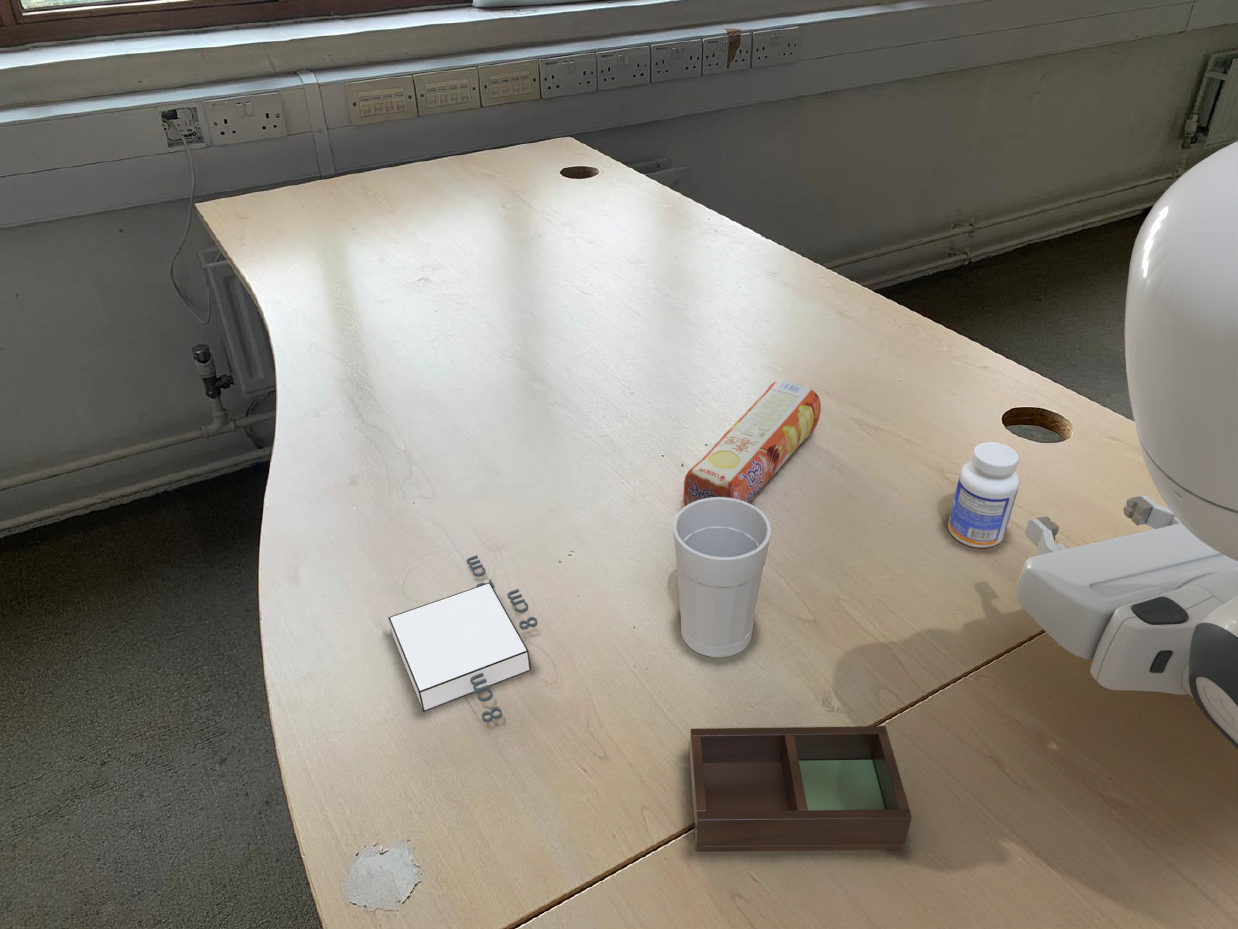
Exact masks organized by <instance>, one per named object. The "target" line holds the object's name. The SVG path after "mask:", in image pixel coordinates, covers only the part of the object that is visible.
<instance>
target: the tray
mask: <svg viewBox="0 0 1238 929" xmlns="http://www.w3.org/2000/svg"><path fill="white" fill-rule="evenodd" d="M689 735H690V736H689V771H690V787H691V802H692V816H693V831H694V841H695V842H694V843H695V844H694V845H695V852H767V851H768V852H769V851H770V852H773V851H776V852H777V851H778V852H779V851H781V852H782V851H785V852H786V851H865V850H867V851H869V850H870V851H871V850H872V851H873V850H875V851H876V850H878V851H880V850H904V847H905V844H906V840H907V837H908V834H909V830H910V828H911V823H912V819H913V816H912V813H911V810H910V805H909V802H908V799H907V796H906V792H905V788H904V786H903V782H902V779H901V775H900V771H899V768H898V765H897V761H896V758H895V755H894V754H895V753H894V751H893V748H892V744H891V740H890V737H889V733H888V729H887V727H886V725H873V726H872V725H871V726H868V725H867V726H866V725H865V726H864V725H863V726H860V725H859V726H799V727H798V726H794V727H781V726H780V727H717V728H715V727H711V728H710V727H709V728H708V727H707V728H706V727H705V728H690V734H689Z"/></svg>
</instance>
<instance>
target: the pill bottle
mask: <svg viewBox="0 0 1238 929" xmlns="http://www.w3.org/2000/svg"><path fill="white" fill-rule="evenodd" d="M1019 460H1020V458H1019V454H1018V452H1017V451H1016V450H1015V449H1013V447H1011V446H1009V445H1007V444H1005V443H1002V442H1001V443H1000V442H996V441H985V442H982V443H978V444H977V445H976V446H975V447H974V449H973V453H972V455H971V460H969V461H967V462H966V463H965V464H964V465H963V466H962V467H961V470H960V473H959V477H958V480H957V484H956V488H955V492H954V497H953V500H952V505H951V509H950V513H949V517H948V521H947V522H948V523H947V527H948V528H947V529H948V530H949V533H950V535H951V536H952V537H954V539H955V540H957V541H958V542H960V543H962V544H964V545H966V546H969V547H973V548H979V549H982V548H984V549H985V548H992V547H995V546H997V545H999V544H1000V543H1001V542H1002V541H1003V540H1004V537H1005V536H1006V532H1007V529H1008V526H1009V521H1010V518H1011V515H1012V511H1013V508H1014V505H1015V501H1016V497H1017V494H1018V491H1019V487H1020V484H1021V483H1020V482H1021V481H1020V476H1019V474H1018V472H1017V469H1018V464H1019Z"/></svg>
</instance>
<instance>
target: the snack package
mask: <svg viewBox="0 0 1238 929" xmlns="http://www.w3.org/2000/svg"><path fill="white" fill-rule="evenodd" d="M821 410H822V402H821V400H820V397H819V395H818V394H817V393H816V392H815V391H814V390H813V389H812V388H810V387H808V386H806V385H803V384H800V383H798V382H794V381H791V380H777V381H774V382H772V383H771V384H770V385H769V386H768V387H767V389H766V390H765V391H764V392H763V394H762V395H760V397H759V398H757V399H756V401H755V402H754V403H753V404H752V405H751V406H750V407H749V408H748V409H747V410H746V411H745V413H744V414H743V415H742V416H741V417H740V418H738V420H737V421H736V422H735V423H734V424H733V425H732V426H731V427H730V428H729V429H728V430H727V431H726V432H725V433H724V434H723V435H722V436H721V438H720V439H718V441H717V442H716V443H715V444H714V445H713V446H712V448H711V449H710V450H709V451H708V452H707V453H706V454H705V455H704V457H703V458H702V459H700V460H699V461H698V462H697V463H695V465H693V466H692V467H691V468H690V469H689V470H688V471H687V473H686V474H685V477H684V480H683V499H682V500H683V501H682V502H683V505H684V506H683V507H685V506H687V505H688V504H690V503H692V502H695V501H697V500H701V499H705V498H712V497H726V498H733V499H738V500H741V501H744V502H747V503H749V502H751V500H752V499H753V498H754V497H755V495H757V494H758V492H759V491H760V490H761V489H762V488H763V487H764V486H765V485H766V484H767V483H768V482H769V481H770V480H771V479H772V477H774V476H775V475H776V473H777V472H778V471H779V470H780V468H781V467H782V466H783V465H784V463H785V462H787V460H788V459H789V458H790V457H791V455H792V454H793V453H795V451H796V450H797V449H798V447H799V446H800V445H801V444H802V443H803V442H804V441H805V440H806V439H807V438H808V437H809V436H811V434H813V433H814V432H815V430H816V428H817V426H818V424H819V420H820V417H821Z"/></svg>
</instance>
